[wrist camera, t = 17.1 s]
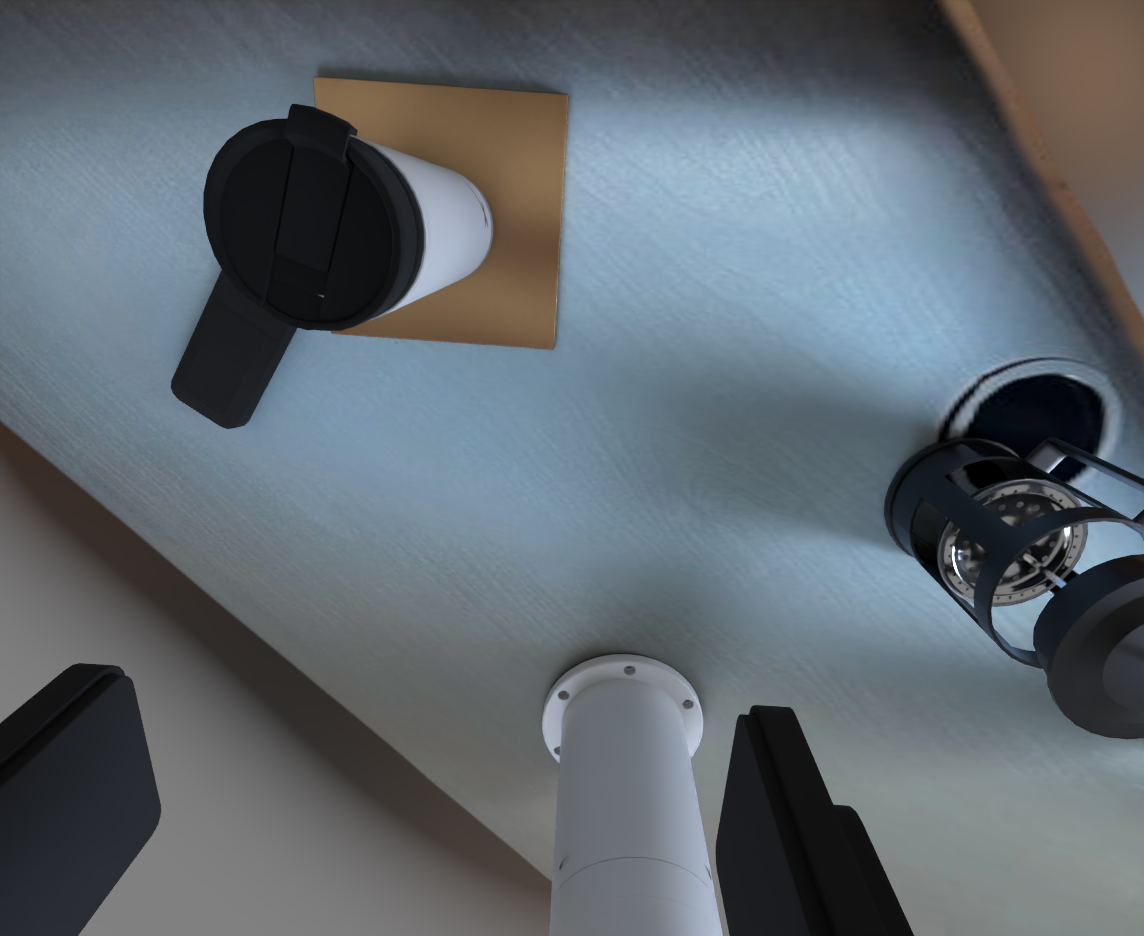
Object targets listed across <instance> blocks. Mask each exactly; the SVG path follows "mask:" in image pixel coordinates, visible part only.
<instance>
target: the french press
mask: <svg viewBox="0 0 1144 936" xmlns="http://www.w3.org/2000/svg"><path fill="white" fill-rule="evenodd" d="M1066 456H1070V457H1073V458H1075V459H1077V460H1079V461H1081V462H1083V463H1085V464H1087V465H1089V466H1091V467H1093V468H1095V469H1097V470H1099V471H1101V472H1103V473H1105V474H1107V475H1109V476H1111V477H1113V478H1115V479H1117V480H1119V481H1121V482H1123V483H1125V484H1127V485H1129V486H1131V487H1133V488H1135V489H1137V490H1139V491H1141V492H1143V493H1144V479H1143V478H1140V477H1138V476H1136V475H1134V474H1132V473H1130V472H1128V471H1125V470H1123V469H1121V468H1119V467H1117V466H1115V465H1113V464H1111V463H1108V462H1106V461H1104V460H1102V459H1100V458H1098V457H1096V456H1094V455H1091V454H1089V453H1087V452H1085V451H1083V450H1081V449H1079V448H1077V447H1074V446H1072V445H1070V444H1068V443H1066V442H1064V441H1062V440H1059V439H1057V438H1055V437H1052V436H1048V437H1046V438H1044V439H1043V440H1042V441H1041V442H1040V443H1039V444H1038V445H1037V446H1036V447H1035V448H1034V449H1033V450H1032V451H1031V452H1030V453H1029V454H1028V455H1027V456H1026V457H1025V458H1024V459H1021V458H1020V457H1019V456H1018V455H1017V454H1016V453H1015V452H1014V451H1013V450H1012V449H1010V448H1009V447H1007V446H1005V445H1003V444H1002V443H1000V442H998V441H995V440H992V439H989V438H986V437H977V436H962V437H954V438H950V439H946V440H942V441H940V442H937V443H935V444H933V445H931V446H928V447H926V448H925V449H923V450H922V451H920V452H919V453H917V454H916V455H914V456H913V457H912V458H911V459H910V460H909V461H908V462H907V463H906V464H904V466H903V467H902V468H901V469H900V471H899V472H898V473H897V475H896V476H895V478H894V479H893V481H892V483H891V485H890V487H889V489H888V493H887V496H886V499H885V509H884V515H885V522H886V526H887V529H888V531H889V534H890V536H891V537H892V539H893V540H894V541H895V543H896V544H897V545H898V546H899V547H900V548H901V549H902V550H903V551H904V552H906V553H907V554H908V555H910V556H912V557H914V558H915V559H916V560H917V561H918V562H919V564H920V565H921V566H922V567H923V568H924V569H925V570H926V571H927V572H928V573H929V574H930V575H931V576H932V577H933V578H934V579H935V580H936V581H937V582H938V583H939V584H940V585H941V587H942V588H943V589H944V590H945V591H946V592H947V593H948V594H949V595H950V596H951V597H952V598H953V599H954V600H955V601H956V602H957V603H958V604H959V605H960V606H961V607H962V608H963V610H964V611H965V612H966V613H967V614H968V615H969V616H970V617H971V618H972V619H973V620H974V621H975V622H976V623H977V624H978V625H979V626H980V627H981V628H982V629H983V630H984V632H985V633H986V634H987V635H988V636H989V637H990V638H991V639H992V640H993V641H994V642H995V643H996V644H997V645H998V646H999V647H1000V648H1001V649H1002V650H1003V651H1004V652H1005V653H1007V654H1008V655H1009V656H1010V657H1011V658H1013V659H1015V660H1017V661H1019V662H1021V663H1023V664H1025V665H1029V666H1032V667H1036V668H1040V669H1043V670H1044V671H1045V673H1046V675H1047V685H1048V688H1049V691H1050V694H1051V697H1052V699H1053V701H1054V702H1055V704H1056V705H1057V707H1058V708H1059V710H1060V711H1061V712H1062V713H1063V714H1064V715H1065V716H1066V717H1067V718H1068V719H1070V720H1071V721H1072V722H1073V723H1074V724H1075V725H1077V726H1079V727H1081V728H1083V729H1085V730H1087V731H1089V732H1091V733H1094V734H1098V735H1101V736H1105V737H1110V738H1120V739H1138V738H1144V554H1141V555H1130V556H1125V557H1121V558H1116V559H1112V560H1109V561H1107V562H1104V563H1102V564H1099V565H1097V566H1094V567H1092V568H1090V569H1089V570H1087V571H1085V572H1083V573H1081V574H1080V575H1079V574H1078V573H1076V572H1075V571H1074V570H1072V569H1073V568H1074V566H1075V565H1076V563H1077V562H1078V560H1079V559H1080V557H1081V554H1082V552H1083V550H1084V548H1085V544H1086V539H1087V535H1088V524H1087V522H1101V521H1108V522H1118V523H1123V524H1125V525H1126V526H1128V527H1130V528H1132V529H1133V530H1135V531H1137V532H1139V533H1140V535H1141V536H1142V538H1143V540H1144V510H1143V511H1142V512H1140V513H1139V514H1138V515H1137V516H1136V517H1135V518H1134V519H1133V520H1131V519H1129V518H1128V517H1126V516H1124V515H1122V514H1120V513H1119V512H1117V511H1115V510H1113V509H1111V508H1110V507H1108V506H1106V505H1104V504H1102V503H1101V502H1099V501H1097V500H1095V499H1093V498H1092V497H1090V496H1088V495H1086V494H1084V493H1083V492H1081V491H1079V490H1077V489H1075V488H1073V487H1072V486H1070V485H1068V484H1066V483H1064V482H1063V481H1061V480H1059V479H1057V478H1055V477H1054V476H1052V475H1050V474H1048V473H1049V472H1050V471H1051V470H1052V469H1053V468H1054V467H1055V466H1056V465H1057V464H1058V463H1059V462H1060V461H1061V460H1062V459H1063V458H1065V457H1066ZM982 460H990V461H992V462H994V463H995V464H997V465H998V466H999V467H1000V468H1001V469H1002V470H1003V472H1004V474H1005V475H1006V477H1007V480H1006V481H1002V482H998V483H994V484H992V485H989V486H987V487H984V488H982V489H980V490H978V491H976V492H974V493H972V494H971V495H968V494H967V493H965V492H964V491H963V490H961V489H960V488H958V487H957V486H956V485H954V484H953V483H952V482H950V481H949V480H947V479H946V478H945V476H947V475H948V474H950V473H951V472H953V471H954V470H956V469H958V468H961V467H963V466H965V465H968V464H970V463H974V462H978V461H982ZM1075 496H1076V497H1077V498H1079V499H1081V500H1083V501H1084V502H1086V503H1088V504H1090V505H1091V506H1093V507H1082V505H1081V504H1080V502H1079V500H1078V499H1077V498H1076V497H1075ZM923 499H924V500H926V501H927V502H928V503H929V504H930V505H931V506H933V507H934V508H935V509H936V510H937V511H939V512H940V513H941V514H942V515H943V516H945V517H946V518H947V519H946V521H945V523H944V525H943V527H942V529H941V532H940V535H939V538H938V544H937V547H935V546H932V545H928V544H926V543H924V542H922V541H921V540H919V539H918V538H917V537H916V536H915V535H914V533H913V532H912V530H913V521H914V518H915V515H916V512H917V509H918V507H919V506H920V504H921V502H922V500H923ZM1049 590H1050V591H1051V592H1052V593H1053V594H1054V596H1053V597H1052V598H1051V599H1050V600H1049V602H1048V603H1047V605H1046V606H1045V608H1044V609H1043V610H1042V612H1041V613H1040V615H1039V617H1038V620H1037V622H1036V624H1035V627H1034V633H1033V646H1034V648H1035V651H1026V650H1022V649H1019V648H1015V647H1012V646H1010V644H1009V643H1008V642H1007V641H1006V640H1005V639H1004V638H1003V637H1002V636H1001V635H1000V634H999V633H998V632H997V631H996V630H995V629H994V628H993V625H992V616H991V608H992V606H993V607H997V606H1010V605H1014V604H1019V603H1023V602H1026V601H1028V600H1031V599H1034V598H1036V597H1038V596H1040V595H1042V594H1044V593H1045V592H1047V591H1049ZM966 600H967V601H969V602H972V603H974V608H973V607H972V606H971V605H970V604H969V603H968V602H967V601H966Z"/></svg>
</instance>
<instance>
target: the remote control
mask: <svg viewBox="0 0 1144 936" xmlns="http://www.w3.org/2000/svg"><path fill="white" fill-rule="evenodd" d="M296 329H297V327H295V326H291V325H289V324H286V323H284V322H282V321H280V320H278V319H276V318H274V317H272V316H271V315H270V314H269V313H268V312H267V311H266V310H265V309H264V308H261V309H260V308H259V307H257V306H256V305H255V304H254V303H252V302H251V301H250V300H248V299H247V298H246V297H244V296H243V295H242V294H241V293H239V292H238V291H237V290H236V288H235V287H234V286H233V285H232V283H231V282H230V281H229V279H228V278H227V277H226V275H225V274H224V272H223V270H222V271H221V273H220V275H219V278H218V280H217V282H216V284H215V286H214V289H213V291H212V293H211V295H210V297H209V299H208V302H207V304H206V306H205V308H204V310H203V313H202V315H201V317H200V319H199V321H198V324H197V326H196V328H195V330H194V332H193V335H192V337H191V339H190V341H189V343H188V346H187V348H186V350H185V352H184V354H183V357H182V359H181V361H180V363H179V365H178V368H177V370H176V372H175V374H174V376H173V379H172V381H171V389H172V391H173V393H174V395H175V396H176V397H177V398H178V399H179V400H180V401H182V402H183V403H185V404H186V405H188V406H189V407H191V408H193V409H194V410H196V411H197V412H199V413H200V414H202V415H204V416H205V417H207V418H208V419H210V420H211V421H213V422H214V423H216V424H218V425H219V426H221V427H224V428H226V429H230V428H236V427H240V426H244V425H245V424H246V423H247V422H248V421H249V420H250V418H251V416H252V414H253V412H254V410H255V408H256V406H257V404H258V402H259V400H260V398H261V397H262V395H263V393H264V391H265V389H266V387H267V385H268V383H269V381H270V379H271V377H272V375H273V373H274V372H275V370H276V368H277V366H278V364H279V362H280V360H281V358H282V356H283V354H284V352H285V350H286V348H287V347H288V345H289V343H290V341H291V339H292V337H293V335H294V333H295V331H296Z"/></svg>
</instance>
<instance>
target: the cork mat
mask: <svg viewBox="0 0 1144 936" xmlns="http://www.w3.org/2000/svg"><path fill="white" fill-rule="evenodd" d="M313 83H314V97H315V108H317V109H320V110H323V111H325V112H328V113H331V114H333V115H335V116H337V117H339V118H341V119H343V120H345V121H348V122H349V123H350V124H351V125H352V126H353V127H355V128H356V129H357V130H358V132H357V137H360V138H362V139H365V140H368V141H371V142H374V143H377V144H379V145H382V146H385V147H388V148H391V149H394V150H396V151H399V152H402V153H405V154H408V155H410V156H413V157H416V158H419V159H422V160H425V161H427V162H430V163H433V164H436V165H439V166H441V167H444V168H447V169H450V170H453V171H456V172H458V173H460V174H461V175H463V176H465V177H467V178H468V179H469V180H470V181H471V182H473V183H474V184H475V185H476V186H477V187H478V189H479V190H480V191H481V192H482V194H483V195H484V197H485V199H486V201H487V203H488V205H489V208H490V211H491V214H492V220H493V239H492V244H491V248H490V250H489V252H488V255H487V257H486V259H485V260H484V261H483V263H482V264H481V266H480V267H479V268H477V269H476V270H475V271H474V272H473V273H472V274H470V275H468V276H467V277H465V278H463V279H461V280H459V281H457V282H454V283H452V284H450V285H448V286H446V287H444V288H441V289H439V290H437V291H435V292H433V293H431V294H429V295H426V296H424V297H422V298H420V299H418V300H416V301H413V302H411V303H409V304H407V305H405V306H403V307H401V308H398V309H396V310H394V311H392V312H390V313H388V314H385V315H383V316H381V317H379V318H376V319H373V320H370V321H367V322H364V323H362V324H359V325H357V326H355V327H352V328H349V329H346V330H343V331H331V333H332V334H341V335H355V336H369V337H383V338H398V339H412V340H426V341H440V342H454V343H468V344H482V345H496V346H510V347H524V348H538V349H552V350H553V349H554V347H555V330H556V312H557V294H558V276H559V258H560V241H561V223H562V205H563V187H564V169H565V151H566V134H567V116H568V98H569V97H568V95H567V94H555V93H541V92H527V91H512V90H498V89H484V88H470V87H456V86H441V85H427V84H413V83H399V82H385V81H371V80H356V79H342V78H328V77H313ZM350 135H351V134H350ZM353 136H354V135H353Z"/></svg>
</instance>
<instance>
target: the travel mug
mask: <svg viewBox="0 0 1144 936" xmlns="http://www.w3.org/2000/svg"><path fill="white" fill-rule="evenodd" d="M357 132H358V130H357V129H356V128H355V127H353V126H352V125H351V124H350V123H349V122H348V121H345V120H343V119H341V118H339V117H337V116H335V115H333V114H331V113H328V112H325V111H323V110H320V109H317V108H315V107H311V106H304V105H298V104H292V105H291V107H290V110H289V115H288V119H272V120H265V121H260V122H258V123H255V124H253V125H250V126H248V127H246V128H243V129H242V130H240V131H239V132H238V133H237V134H235V135H234V136H233V137H231V138H230V139H229V140H227V142H226V143H225V144H224V146H223V147H222V148H221V149H220V151H219V152H218V153H217V155H216V156H215V158H214V161H213V163H212V165H211V167H210V169H209V172H208V174H207V179H206V184H205V189H204V206H203V214H204V220H205V226H206V231H207V236H208V239H209V242H210V244H211V247H212V250H213V253H214V256H215V257H216V259H217V261H218V263H219V265H220V267H221V268H222V270H223V272H224V274H225V275H226V277H227V278H228V279H229V281H230V282H231V283H232V285H233V286H234V287H235V288H236V290H237V291H238V292H239V293H241V294H242V295H243V296H244V297H246V298H247V299H248V300H250V301H251V302H252V303H254V304H255V305H256V306H257V307H259V308H260V309H261V308H264V309H265V310H266V311H267V312H268V313H269V314H270V315H271V316H272V317H274V318H276V319H278V320H280V321H282V322H284V323H286V324H289V325H291V326H295V327H298V328H302V329H305V330H325V331H343V330H346V329H349V328H352V327H355V326H357V325H359V324H362V323H364V322H367V321H370V320H373V319H376V318H379V317H381V316H383V315H385V314H388V313H390V312H392V311H394V310H396V309H398V308H401V307H403V306H405V305H407V304H409V303H411V302H413V301H416V300H418V299H420V298H422V297H424V296H426V295H429V294H431V293H433V292H435V291H437V290H439V289H441V288H444V287H446V286H448V285H450V284H452V283H454V282H457V281H459V280H461V279H463V278H465V277H467V276H468V275H470V274H472V273H473V272H474V271H475V270H476V269H477V268H479V267H480V266H481V264H482V263H483V261H484V260H485V259H486V257H487V255H488V252H489V250H490V248H491V244H492V239H493V220H492V214H491V211H490V208H489V205H488V203H487V201H486V199H485V197H484V195H483V194H482V192H481V191H480V190H479V189H478V187H477V186H476V185H475V184H474V183H473V182H471V181H470V180H469V179H468V178H467V177H465V176H463V175H461V174H460V173H458V172H456V171H453V170H450V169H447V168H444V167H441V166H439V165H436V164H433V163H430V162H427V161H425V160H422V159H419V158H416V157H413V156H410V155H408V154H405V153H402V152H399V151H396V150H394V149H391V148H388V147H385V146H382V145H379V144H377V143H374V142H371V141H368V140H365V139H362V138H360V137H357ZM350 134H351V135H350ZM353 135H354V136H353Z"/></svg>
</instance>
